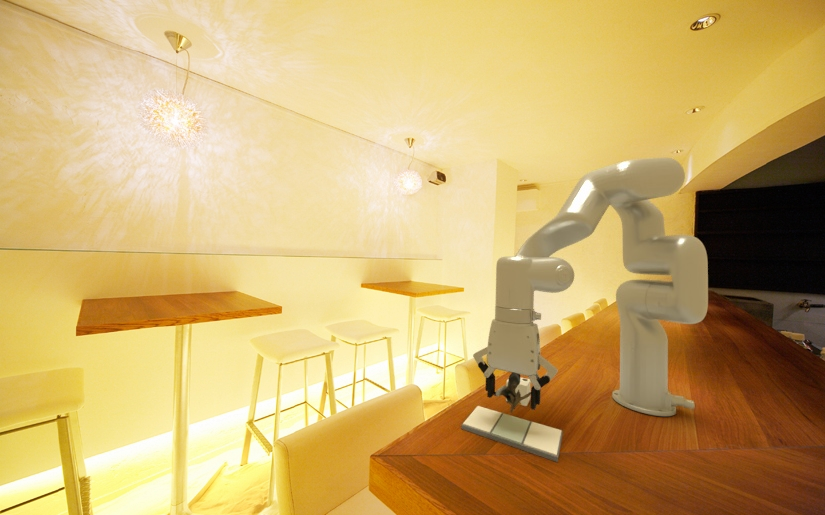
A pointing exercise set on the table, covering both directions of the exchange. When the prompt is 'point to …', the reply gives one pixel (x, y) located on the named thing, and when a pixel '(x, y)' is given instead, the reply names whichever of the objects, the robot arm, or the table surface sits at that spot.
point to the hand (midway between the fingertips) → (511, 400)
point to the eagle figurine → (512, 391)
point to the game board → (515, 432)
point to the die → (523, 389)
